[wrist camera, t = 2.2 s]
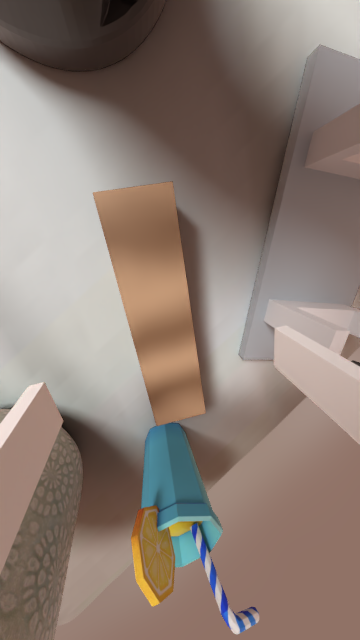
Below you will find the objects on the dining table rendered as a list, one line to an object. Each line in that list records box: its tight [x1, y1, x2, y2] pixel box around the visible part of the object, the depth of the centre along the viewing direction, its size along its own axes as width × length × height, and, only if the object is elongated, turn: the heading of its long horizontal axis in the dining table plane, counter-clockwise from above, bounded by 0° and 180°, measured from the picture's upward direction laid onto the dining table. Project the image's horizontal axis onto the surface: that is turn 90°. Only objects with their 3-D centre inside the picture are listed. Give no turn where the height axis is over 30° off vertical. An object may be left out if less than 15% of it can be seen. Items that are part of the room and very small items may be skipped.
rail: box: [93, 181, 206, 426], centre depth 19 cm, size 20×5×5 cm, turn 9°
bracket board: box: [239, 45, 360, 360], centre depth 18 cm, size 26×12×9 cm, turn 174°
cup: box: [131, 423, 259, 634], centre depth 21 cm, size 14×8×15 cm, turn 48°
